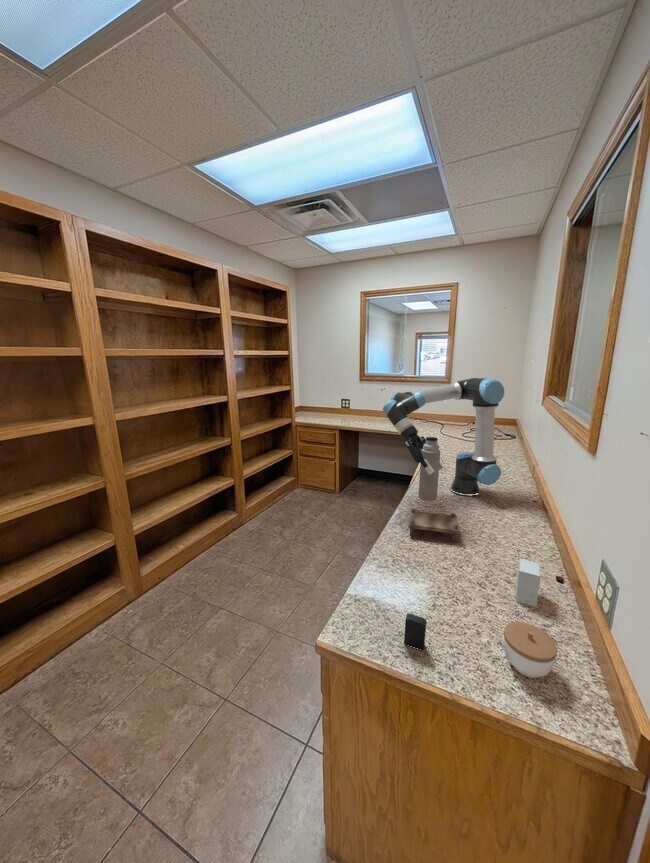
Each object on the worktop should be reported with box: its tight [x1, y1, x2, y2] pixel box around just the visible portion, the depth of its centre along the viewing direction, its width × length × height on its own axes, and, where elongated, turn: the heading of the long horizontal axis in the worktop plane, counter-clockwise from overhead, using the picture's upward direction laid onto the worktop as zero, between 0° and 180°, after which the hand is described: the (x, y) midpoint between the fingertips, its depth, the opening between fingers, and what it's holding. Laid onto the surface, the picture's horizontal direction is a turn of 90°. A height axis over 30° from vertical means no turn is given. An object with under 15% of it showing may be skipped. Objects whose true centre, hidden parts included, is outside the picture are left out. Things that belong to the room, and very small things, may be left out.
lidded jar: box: [503, 621, 558, 679], centre depth 78 cm, size 11×11×9 cm
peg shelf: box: [408, 508, 461, 544], centre depth 141 cm, size 20×14×7 cm
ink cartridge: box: [403, 612, 427, 651], centre depth 84 cm, size 5×2×8 cm, turn 65°
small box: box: [515, 558, 542, 608], centre depth 101 cm, size 8×6×10 cm
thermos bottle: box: [418, 436, 441, 502], centre depth 145 cm, size 8×8×28 cm
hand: (436, 470), depth 143 cm, fingers closed on thermos bottle, 8 cm apart
